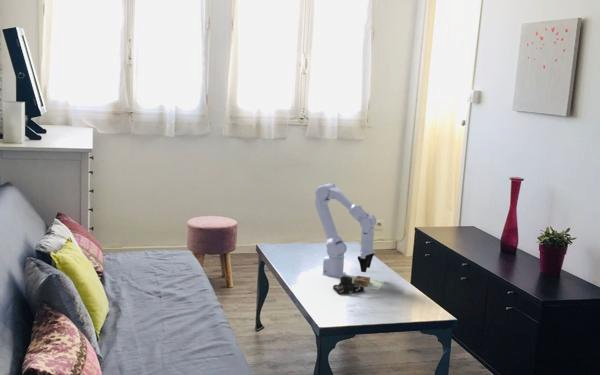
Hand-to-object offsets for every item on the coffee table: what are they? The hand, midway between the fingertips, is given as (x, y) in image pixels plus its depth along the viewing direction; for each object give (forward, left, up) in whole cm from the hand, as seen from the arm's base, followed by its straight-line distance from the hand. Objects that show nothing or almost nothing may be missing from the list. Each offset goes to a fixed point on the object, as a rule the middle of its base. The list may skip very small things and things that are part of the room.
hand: (365, 269), depth 295 cm
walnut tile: (0, -3, -4) cm, 5 cm away
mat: (0, -4, -5) cm, 7 cm away
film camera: (-3, -18, -6) cm, 19 cm away
